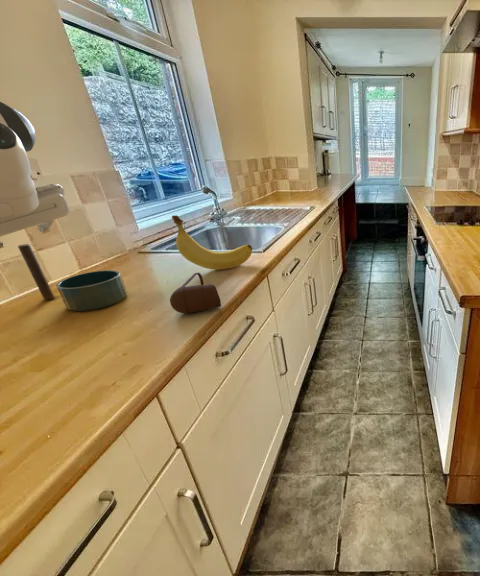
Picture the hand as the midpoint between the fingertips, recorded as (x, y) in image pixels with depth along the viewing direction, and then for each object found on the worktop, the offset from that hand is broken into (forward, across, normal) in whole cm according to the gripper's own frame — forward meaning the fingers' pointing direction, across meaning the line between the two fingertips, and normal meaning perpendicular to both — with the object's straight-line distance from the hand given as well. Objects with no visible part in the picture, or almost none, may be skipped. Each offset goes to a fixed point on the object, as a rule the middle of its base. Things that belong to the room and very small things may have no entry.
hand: (22, 238), depth 78 cm
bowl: (+12, -3, +18) cm, 21 cm away
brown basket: (-3, -13, +41) cm, 43 cm away
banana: (+10, -35, +30) cm, 47 cm away
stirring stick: (+20, +1, +5) cm, 21 cm away
